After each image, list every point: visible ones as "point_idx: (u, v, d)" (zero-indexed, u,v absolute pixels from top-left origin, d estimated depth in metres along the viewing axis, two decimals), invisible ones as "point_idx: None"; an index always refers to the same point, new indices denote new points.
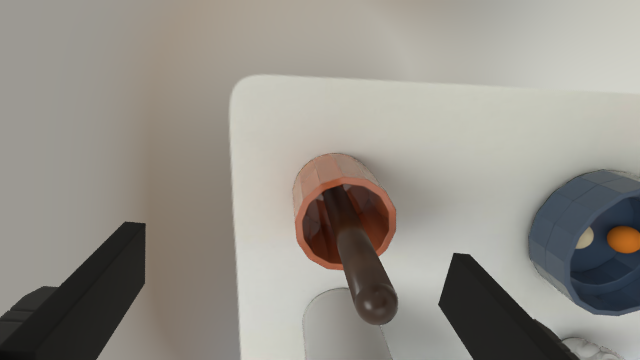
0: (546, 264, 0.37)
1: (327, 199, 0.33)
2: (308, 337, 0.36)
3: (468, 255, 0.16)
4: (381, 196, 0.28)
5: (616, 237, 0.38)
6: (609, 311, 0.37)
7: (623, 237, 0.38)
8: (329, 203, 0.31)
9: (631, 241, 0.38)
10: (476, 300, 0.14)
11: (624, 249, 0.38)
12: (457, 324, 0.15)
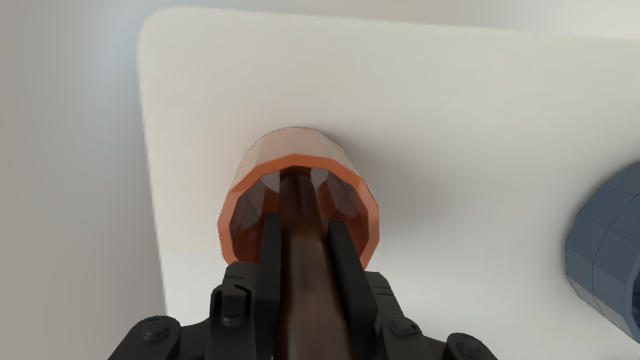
0: (593, 285, 0.27)
1: (281, 192, 0.22)
2: None
3: (344, 221, 0.17)
4: (355, 186, 0.18)
5: None
6: None
7: None
8: (281, 198, 0.21)
9: None
10: (333, 258, 0.15)
11: None
12: None
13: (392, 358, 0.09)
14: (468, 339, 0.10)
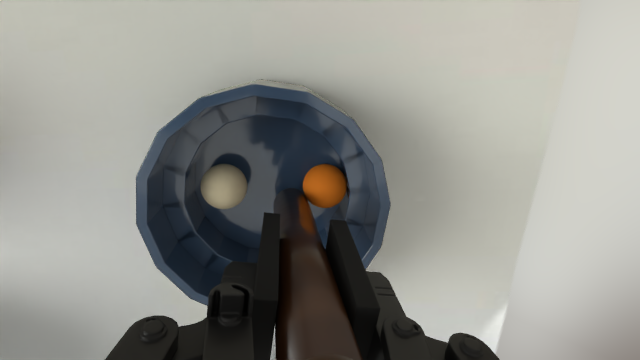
0: None
1: (278, 201, 0.22)
2: None
3: (345, 221, 0.17)
4: None
5: (309, 179, 0.23)
6: None
7: (316, 174, 0.23)
8: (280, 206, 0.21)
9: (327, 176, 0.23)
10: (334, 258, 0.15)
11: (323, 194, 0.23)
12: None
13: (394, 358, 0.09)
14: (470, 340, 0.10)
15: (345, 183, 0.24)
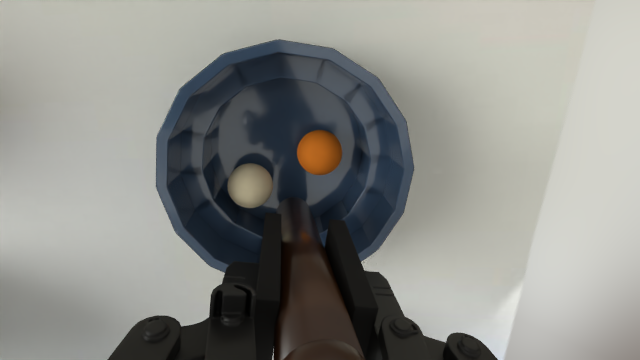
0: None
1: (285, 206, 0.22)
2: None
3: (344, 221, 0.17)
4: None
5: None
6: None
7: (305, 135, 0.23)
8: (286, 210, 0.21)
9: (307, 140, 0.23)
10: (333, 257, 0.15)
11: (298, 155, 0.23)
12: None
13: (392, 358, 0.09)
14: (468, 339, 0.10)
15: (323, 156, 0.22)
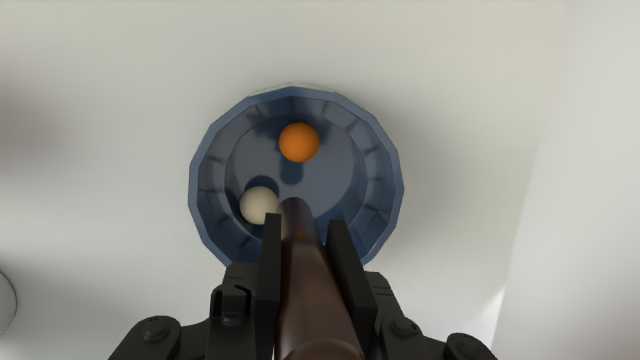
0: None
1: (285, 206, 0.22)
2: None
3: (344, 221, 0.17)
4: None
5: None
6: None
7: None
8: (287, 210, 0.21)
9: None
10: (333, 258, 0.15)
11: None
12: None
13: (392, 358, 0.09)
14: (468, 339, 0.10)
15: None
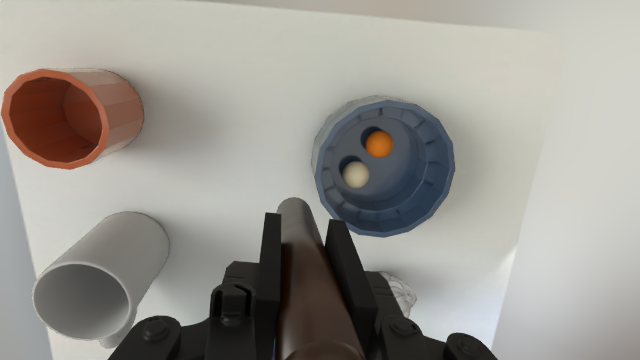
0: None
1: (285, 206, 0.22)
2: None
3: (344, 221, 0.17)
4: (86, 91, 0.29)
5: None
6: (373, 232, 0.38)
7: None
8: (287, 211, 0.21)
9: None
10: (333, 258, 0.15)
11: None
12: None
13: (392, 358, 0.09)
14: (468, 340, 0.10)
15: (373, 132, 0.39)
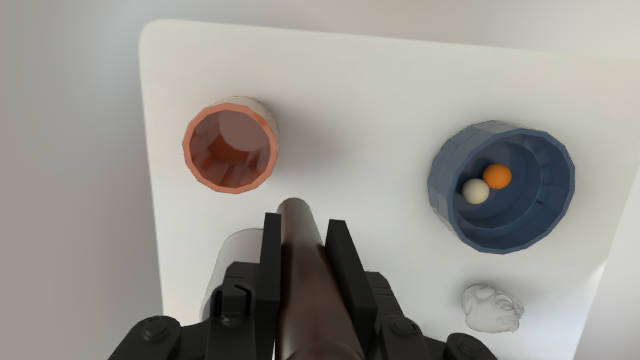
0: (438, 206, 0.41)
1: (285, 207, 0.22)
2: (214, 267, 0.39)
3: (344, 221, 0.17)
4: (260, 123, 0.31)
5: None
6: (494, 249, 0.40)
7: None
8: (287, 211, 0.21)
9: (492, 164, 0.42)
10: (332, 258, 0.15)
11: (484, 171, 0.42)
12: None
13: (392, 358, 0.09)
14: (468, 340, 0.10)
15: (497, 171, 0.40)
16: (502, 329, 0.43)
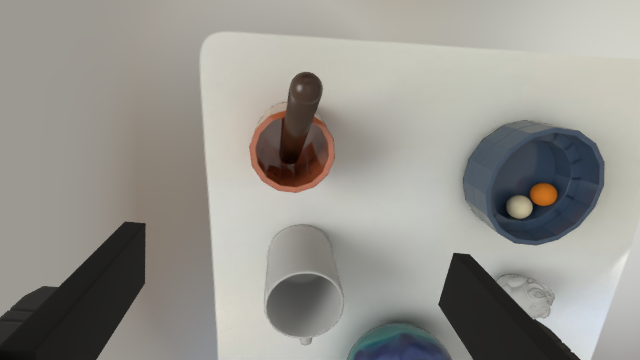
0: (475, 201, 0.43)
1: None
2: (269, 260, 0.42)
3: (468, 255, 0.16)
4: (320, 127, 0.34)
5: (552, 195, 0.44)
6: (528, 241, 0.43)
7: (555, 196, 0.44)
8: None
9: (555, 200, 0.45)
10: (475, 301, 0.14)
11: (547, 204, 0.45)
12: (457, 325, 0.15)
13: None
14: None
15: None
16: (534, 315, 0.46)
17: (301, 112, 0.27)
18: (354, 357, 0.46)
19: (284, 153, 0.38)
